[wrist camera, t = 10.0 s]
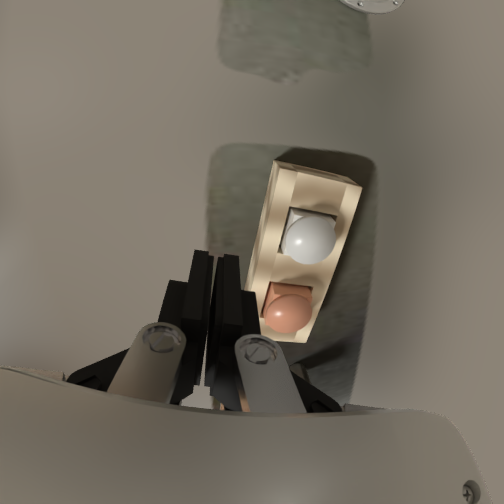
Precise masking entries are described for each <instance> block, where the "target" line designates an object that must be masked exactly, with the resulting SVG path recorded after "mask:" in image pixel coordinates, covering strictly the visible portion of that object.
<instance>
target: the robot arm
mask: <svg viewBox="0 0 504 504" xmlns="http://www.w3.org/2000/svg"><path fill="white" fill-rule="evenodd" d="M340 1H341V2H342V3H344V4H346V5H347V6H349V7H351V8H353V9H355V10H358V11H361V12H364V13H368V14H385V13H389V12H392V11H394V10H396V9H397V8H399V7H400V6H401V5H402V4H403V2H404V0H340ZM358 5H359V6H358ZM208 254H209V252H208V251H201V250H195V251H194V255H193V260H192V265H191V270H190V275H189V280H188V282H181V281H175V280H170V281H169V283H168V286H167V290H166V293H165V297H164V300H163V304H162V307H161V311H160V315H159V319H158V322H156V323H151V324H148V325H146V326H144V327H143V328H142V329H141V330H140V331H139V332H138V334H137V336H136V338H135V339H134V341H133V343H132V345H131V347H130V348H128V349H127V350H124V351H121V352H119V353H117V354H115V355H112V356H110V357H108V358H105V359H103V360H101V361H99V362H96V363H94V364H91V365H89V366H86V367H84V368H82V369H79V370H77V371H75V372H74V373H72V374H71V375H70V376H67V375H64V372H59V371H48V370H37V369H29V368H20V367H9V366H1V365H0V504H493V503H492V500H491V497H490V494H489V491H488V489H487V486H486V483H485V481H484V478H483V476H482V473H481V471H480V469H479V466H478V465H477V462H476V460H475V458H474V456H473V453H472V452H471V450H470V448H469V446H468V444H467V443H466V441H465V439H464V437H463V436H462V434H461V432H460V431H459V429H458V428H457V427H456V426H455V424H454V423H453V422H451V421H450V420H449V419H448V418H446V417H444V416H442V415H439V414H436V413H433V412H428V411H424V410H414V409H384V408H375V407H367V406H360V405H352V404H346V403H345V404H344V406H340V405H339V404H338V403H337V402H336V401H335V400H333V399H332V398H331V397H329V396H328V395H326V394H325V393H323V392H322V391H320V390H319V389H317V388H316V387H314V386H313V385H311V384H310V383H308V382H307V381H305V380H304V379H302V378H301V377H299V376H298V375H297V374H295V373H294V372H292V371H291V370H289V367H288V365H287V362H286V360H285V357H284V355H283V352H282V350H281V348H280V347H279V345H278V344H277V343H276V342H275V341H274V340H272V339H270V338H268V337H266V336H263V335H261V329H260V321H259V314H258V307H257V299H256V293H255V292H254V291H246V290H241V284H240V269H239V256H235V255H228V254H224V257H218V261H217V267H216V273H215V279H214V285H213V291H212V298H211V285H212V273H213V261H214V256H209V255H208ZM210 298H211V304H210ZM207 330H208V332H207ZM206 337H207V347H206V365H205V383H204V384H205V385H204V386H208V387H210V396H214V397H215V398H216V399H217V400H218V401H219V402H220V403H221V405H220V410H214V409H204V408H195V407H186V406H181V403H182V399H184V398H186V397H187V396H189V395H190V394H192V393H193V387H194V385H200V379H201V371H202V364H203V357H204V350H205V344H206Z"/></svg>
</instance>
